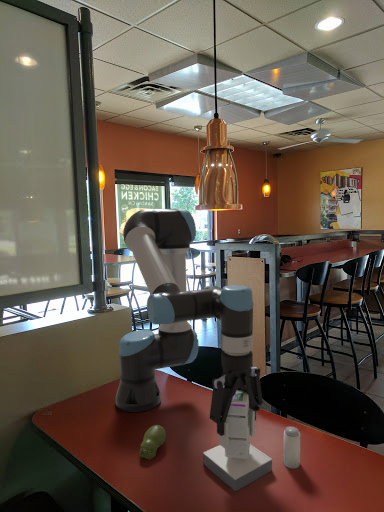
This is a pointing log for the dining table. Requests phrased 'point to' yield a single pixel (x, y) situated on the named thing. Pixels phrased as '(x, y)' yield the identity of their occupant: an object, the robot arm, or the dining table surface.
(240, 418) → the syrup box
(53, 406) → the dining table surface
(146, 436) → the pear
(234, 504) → the dining table surface
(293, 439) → the shaker
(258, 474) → the riser
